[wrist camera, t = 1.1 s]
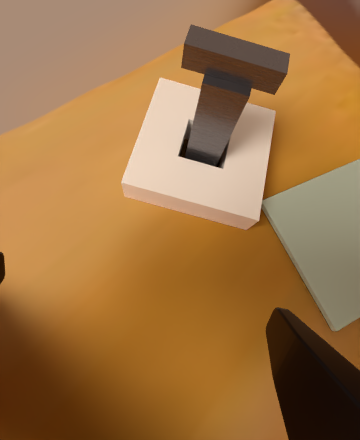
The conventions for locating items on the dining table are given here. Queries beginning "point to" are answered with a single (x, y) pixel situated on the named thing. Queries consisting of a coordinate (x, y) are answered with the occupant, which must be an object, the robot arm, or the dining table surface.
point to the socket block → (195, 171)
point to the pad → (324, 239)
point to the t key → (226, 86)
